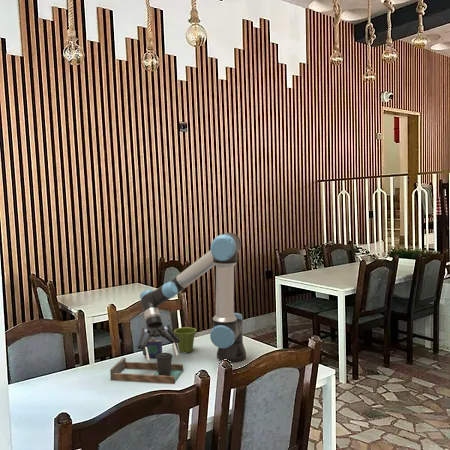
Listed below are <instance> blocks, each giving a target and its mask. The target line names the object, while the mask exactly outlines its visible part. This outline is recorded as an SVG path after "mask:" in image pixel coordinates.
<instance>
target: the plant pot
mask: <svg viewBox="0 0 450 450" xmlns="http://www.w3.org/2000/svg"><path fill="white" fill-rule="evenodd" d="M173 332H174V333H175V334H176V335H177V337H178V338H179V339H180V341H179V343H177V345H178V352H179V351H180V352H179V353H181V352H188V353H191V352H193V348H194V341H195V335H196V332H197V329H196V328H194V327H191V326H190V327H188V326H187V327H185V326H184V327H179V328H175V329H174V330H173ZM190 351H191V352H190Z"/></svg>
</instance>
